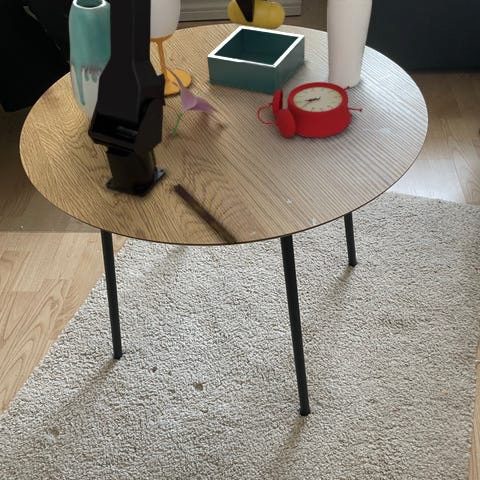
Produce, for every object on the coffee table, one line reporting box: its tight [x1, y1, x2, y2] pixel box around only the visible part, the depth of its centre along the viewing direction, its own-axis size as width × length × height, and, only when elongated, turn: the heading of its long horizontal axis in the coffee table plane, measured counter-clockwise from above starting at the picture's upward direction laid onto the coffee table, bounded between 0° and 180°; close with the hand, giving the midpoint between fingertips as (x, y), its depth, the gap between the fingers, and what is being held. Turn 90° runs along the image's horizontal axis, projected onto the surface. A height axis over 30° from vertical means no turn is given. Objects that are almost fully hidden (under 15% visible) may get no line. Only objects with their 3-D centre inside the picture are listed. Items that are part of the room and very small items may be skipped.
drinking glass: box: [326, 0, 373, 89], centre depth 95 cm, size 7×7×15 cm
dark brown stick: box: [173, 183, 237, 246], centre depth 80 cm, size 15×1×1 cm
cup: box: [150, 0, 192, 96], centre depth 98 cm, size 9×9×16 cm
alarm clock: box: [256, 81, 363, 138], centre depth 92 cm, size 10×6×15 cm
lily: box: [160, 63, 224, 136], centre depth 92 cm, size 12×12×10 cm
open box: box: [206, 25, 306, 95], centre depth 104 cm, size 13×13×5 cm
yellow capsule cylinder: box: [227, 0, 286, 30], centre depth 98 cm, size 4×10×4 cm, turn 63°
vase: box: [68, 0, 110, 120], centre depth 92 cm, size 12×12×18 cm
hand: (255, 16), depth 98 cm, fingers closed on yellow capsule cylinder, 4 cm apart
